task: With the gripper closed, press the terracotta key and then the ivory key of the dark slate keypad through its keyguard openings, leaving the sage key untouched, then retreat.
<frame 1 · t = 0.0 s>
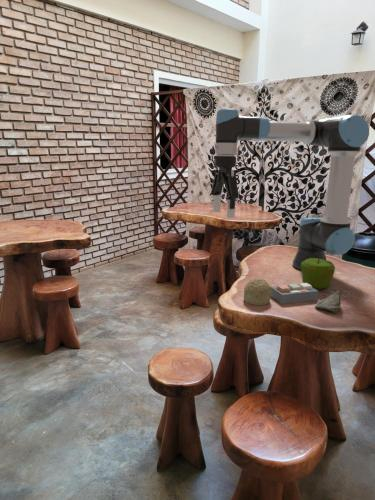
hand: (223, 215, 133), 28 cm above the table, fingers open, 13 cm apart
apple: (315, 287, 142), on the table
keypad: (293, 297, 130), on the table
key b: (294, 288, 129), point 4 cm above the table, slide at 0.0 cm
key c: (283, 289, 128), point 4 cm above the table, slide at 0.0 cm
decorative object: (257, 301, 127), on the table
rock sample: (328, 310, 121), on the table
key a: (305, 287, 130), point 4 cm above the table, slide at 0.0 cm
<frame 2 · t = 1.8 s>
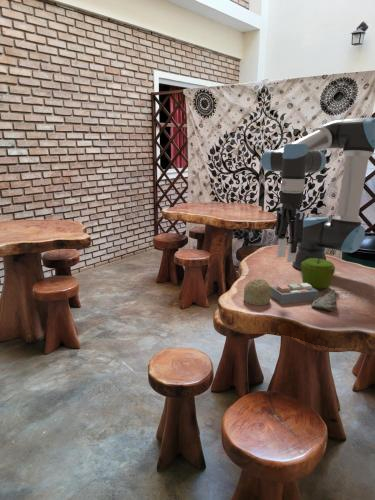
hand: (286, 259, 125), 15 cm above the table, fingers open, 6 cm apart
rock sample: (324, 309, 122), on the table
everything else where it was.
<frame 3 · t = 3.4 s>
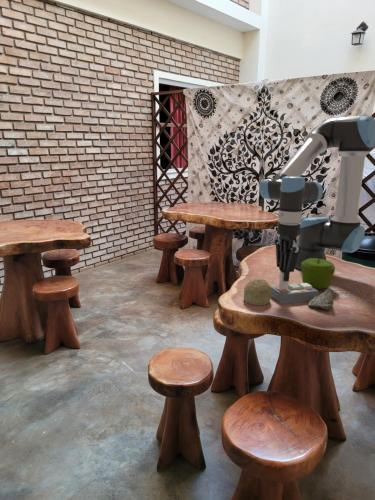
hand: (283, 288, 128), 4 cm above the table, fingers closed
key c: (283, 292, 128), point 3 cm above the table, slide at 1.0 cm, touching gripper
rock sample: (321, 308, 122), on the table
everything else where it was.
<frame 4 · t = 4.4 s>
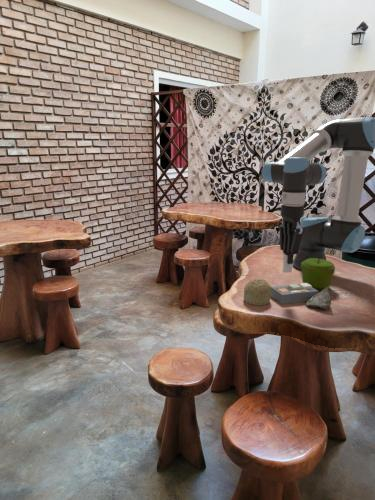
hand: (287, 271, 127), 10 cm above the table, fingers closed
key c: (283, 292, 128), point 2 cm above the table, slide at 1.2 cm
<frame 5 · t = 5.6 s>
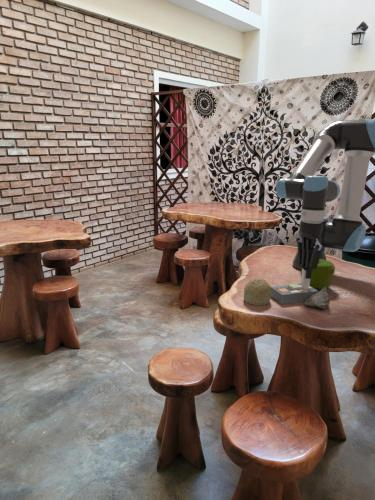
hand: (304, 286, 130), 4 cm above the table, fingers closed
key a: (304, 289, 131), point 3 cm above the table, slide at 0.7 cm, touching gripper
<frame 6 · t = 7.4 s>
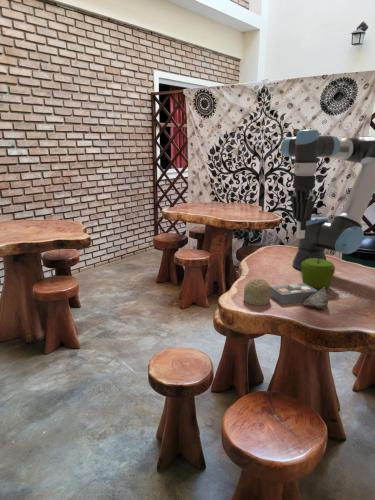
hand: (300, 237, 137), 19 cm above the table, fingers closed
key a: (304, 290, 131), point 2 cm above the table, slide at 1.2 cm
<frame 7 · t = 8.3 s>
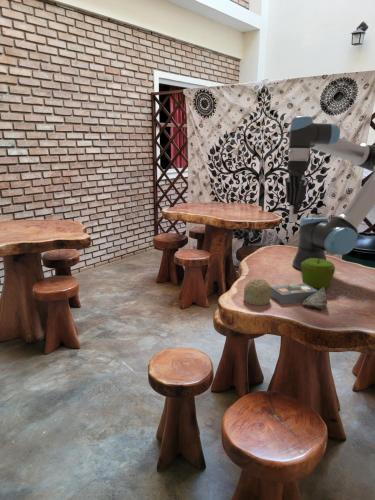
hand: (292, 221, 142), 24 cm above the table, fingers closed
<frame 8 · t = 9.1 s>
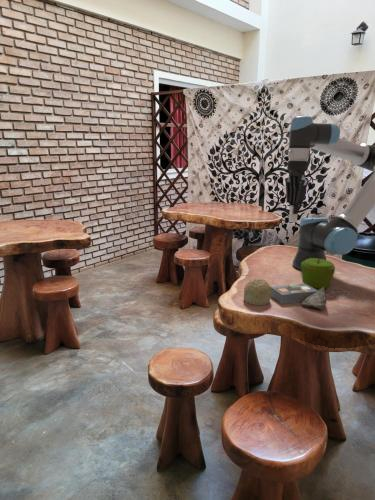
hand: (292, 221, 142), 24 cm above the table, fingers closed
rock sample: (314, 307, 123), on the table, touching keypad
everything else where it was.
at the end: key c slide at 1.2 cm; key a slide at 1.2 cm; key b slide at 0.0 cm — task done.
